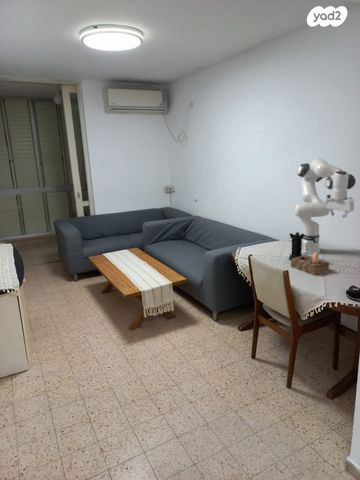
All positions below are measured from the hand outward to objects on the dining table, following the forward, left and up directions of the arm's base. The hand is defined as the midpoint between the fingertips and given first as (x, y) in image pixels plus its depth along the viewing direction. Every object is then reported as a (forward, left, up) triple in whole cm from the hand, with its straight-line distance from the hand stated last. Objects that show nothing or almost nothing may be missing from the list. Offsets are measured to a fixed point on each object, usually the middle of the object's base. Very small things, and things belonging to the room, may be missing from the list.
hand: (338, 216), depth 223 cm
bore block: (-4, -21, -34) cm, 40 cm away
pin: (+1, -21, -32) cm, 38 cm away
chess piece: (-22, -15, -34) cm, 44 cm away
